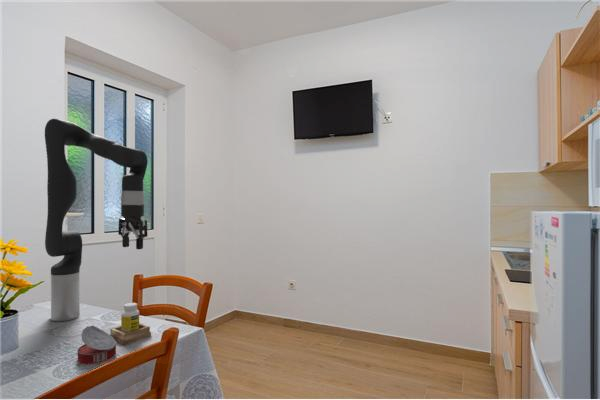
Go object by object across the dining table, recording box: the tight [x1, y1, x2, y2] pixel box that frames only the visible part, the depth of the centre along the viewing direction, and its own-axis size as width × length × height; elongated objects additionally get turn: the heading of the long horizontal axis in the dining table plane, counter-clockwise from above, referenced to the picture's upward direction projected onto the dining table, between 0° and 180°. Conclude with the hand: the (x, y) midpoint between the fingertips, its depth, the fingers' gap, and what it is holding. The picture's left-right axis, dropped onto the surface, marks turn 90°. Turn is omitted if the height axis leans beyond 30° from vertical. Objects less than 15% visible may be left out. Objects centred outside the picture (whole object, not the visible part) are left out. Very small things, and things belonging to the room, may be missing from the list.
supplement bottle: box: [120, 302, 140, 333], centre depth 118 cm, size 5×5×10 cm
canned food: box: [77, 325, 117, 365], centre depth 105 cm, size 11×10×10 cm
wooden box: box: [109, 322, 152, 346], centre depth 118 cm, size 9×9×3 cm
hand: (132, 248), depth 129 cm, fingers open, 8 cm apart
